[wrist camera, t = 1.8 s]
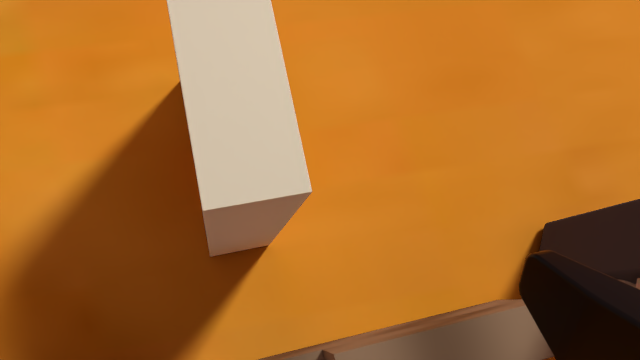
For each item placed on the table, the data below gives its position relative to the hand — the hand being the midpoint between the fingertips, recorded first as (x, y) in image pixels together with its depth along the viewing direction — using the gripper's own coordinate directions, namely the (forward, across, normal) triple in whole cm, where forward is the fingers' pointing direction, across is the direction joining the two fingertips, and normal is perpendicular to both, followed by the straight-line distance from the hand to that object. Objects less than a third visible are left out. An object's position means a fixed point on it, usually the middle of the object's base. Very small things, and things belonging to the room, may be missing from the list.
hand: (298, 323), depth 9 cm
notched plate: (+14, 0, +4) cm, 14 cm away
